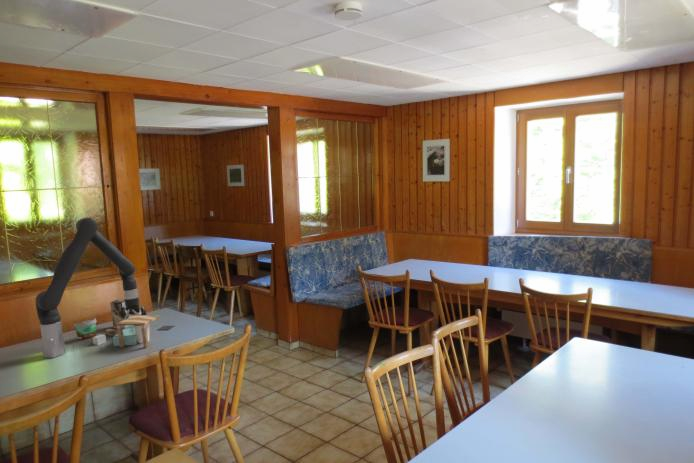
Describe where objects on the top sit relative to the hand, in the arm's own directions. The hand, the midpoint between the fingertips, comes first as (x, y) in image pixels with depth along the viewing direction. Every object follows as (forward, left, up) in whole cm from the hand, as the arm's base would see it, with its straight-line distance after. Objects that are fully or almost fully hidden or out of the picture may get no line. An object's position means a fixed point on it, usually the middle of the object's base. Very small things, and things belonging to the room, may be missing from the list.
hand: (135, 324), depth 282 cm
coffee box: (+11, +16, -5) cm, 20 cm away
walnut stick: (-3, +11, -5) cm, 13 cm away
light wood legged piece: (-16, -14, -5) cm, 22 cm away
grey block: (-16, +11, -5) cm, 20 cm away
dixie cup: (-14, -14, -5) cm, 20 cm away
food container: (-8, +24, -5) cm, 26 cm away
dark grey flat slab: (+8, -14, -5) cm, 17 cm away
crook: (-9, -5, -5) cm, 11 cm away
